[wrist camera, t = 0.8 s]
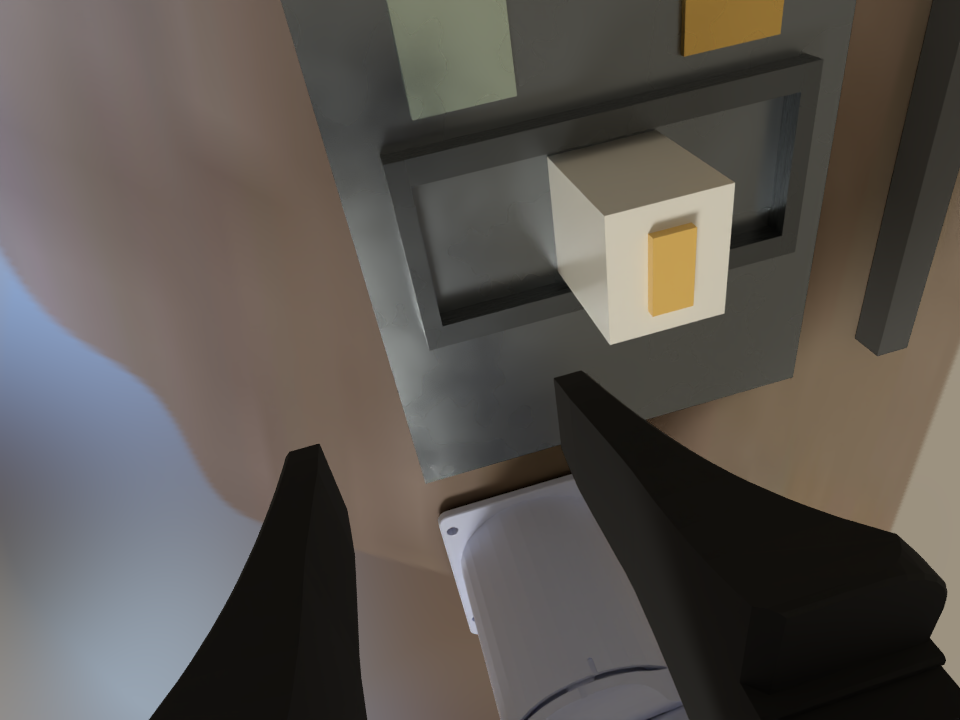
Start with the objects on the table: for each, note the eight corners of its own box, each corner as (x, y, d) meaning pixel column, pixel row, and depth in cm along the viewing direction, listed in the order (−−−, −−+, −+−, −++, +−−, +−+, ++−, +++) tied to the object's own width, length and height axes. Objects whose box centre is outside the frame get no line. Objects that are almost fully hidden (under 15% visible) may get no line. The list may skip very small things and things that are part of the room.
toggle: (655, 246, 23) (729, 318, 19) (558, 271, 23) (614, 350, 19) (655, 130, 20) (741, 186, 17) (547, 156, 20) (609, 221, 16)
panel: (776, 360, 29) (804, 388, 28) (420, 462, 28) (429, 498, 26) (865, -249, 17) (924, -262, 16) (244, -130, 16) (239, -131, 14)
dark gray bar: (883, 330, 30) (906, 347, 29) (854, 338, 30) (877, 356, 29) (996, -102, 20) (1037, -101, 19) (954, -93, 20) (994, -91, 19)
